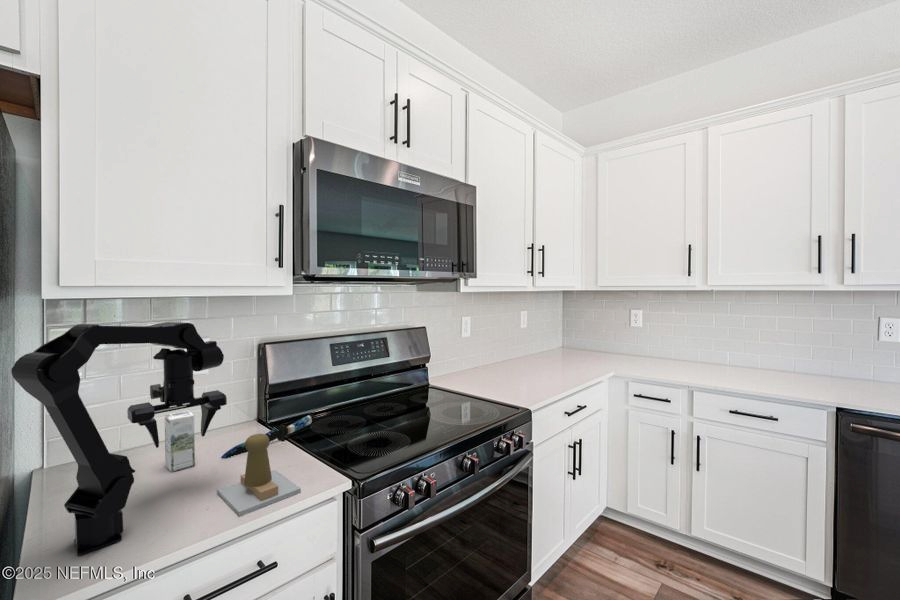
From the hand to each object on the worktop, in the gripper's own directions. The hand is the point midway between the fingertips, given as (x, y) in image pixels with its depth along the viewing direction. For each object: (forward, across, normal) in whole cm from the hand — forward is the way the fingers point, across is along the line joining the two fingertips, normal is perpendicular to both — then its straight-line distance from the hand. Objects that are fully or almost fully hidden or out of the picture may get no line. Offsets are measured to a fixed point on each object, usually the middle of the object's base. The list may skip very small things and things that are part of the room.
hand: (180, 441), depth 96 cm
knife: (+13, -28, -16) cm, 35 cm away
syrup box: (+13, -4, -18) cm, 23 cm away
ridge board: (+13, -13, +12) cm, 22 cm away
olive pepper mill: (+10, -13, +12) cm, 20 cm away
